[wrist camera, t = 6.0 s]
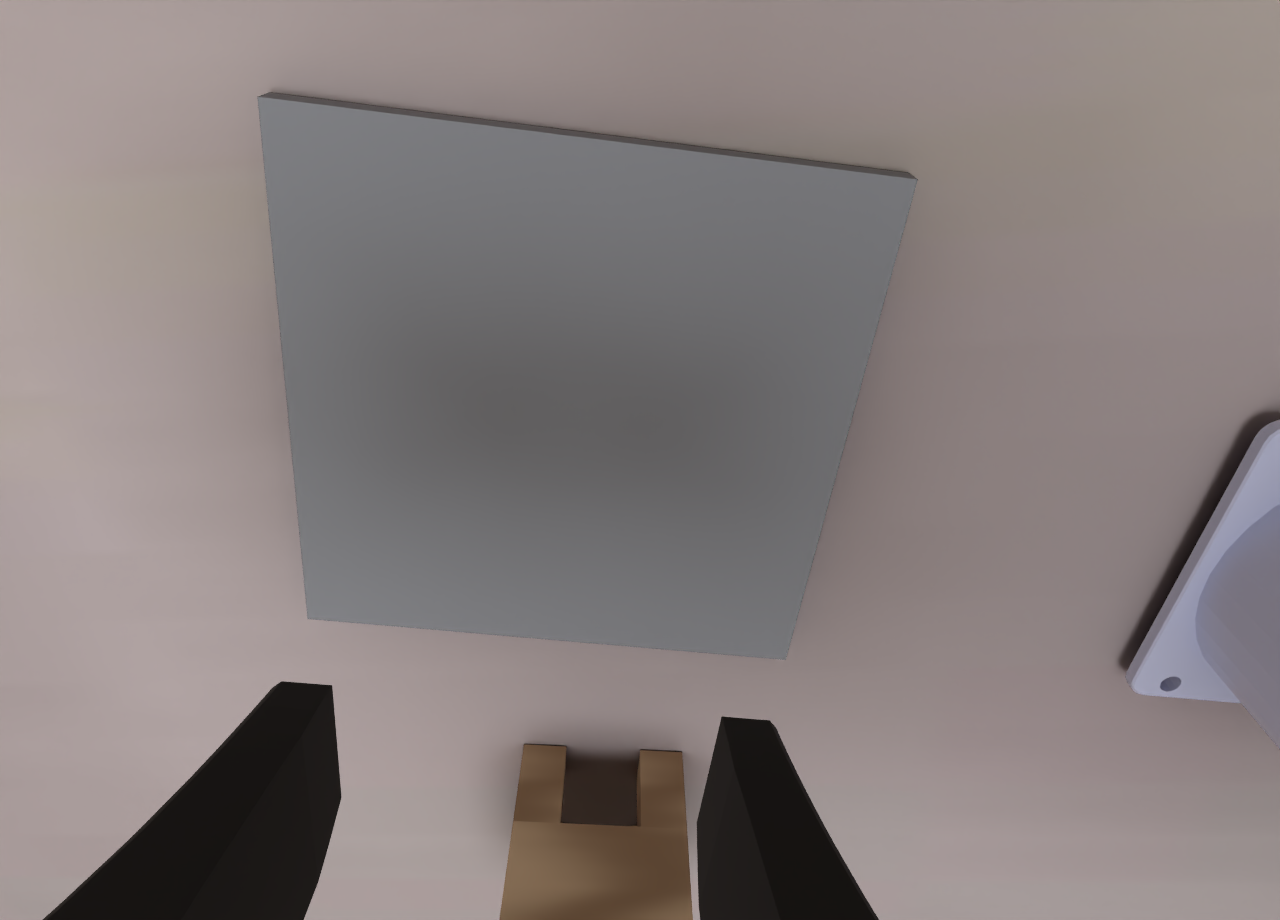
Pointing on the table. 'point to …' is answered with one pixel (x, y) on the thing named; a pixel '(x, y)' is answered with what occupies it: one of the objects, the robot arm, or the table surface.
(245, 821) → the robot arm
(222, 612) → the table surface
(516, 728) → the table surface
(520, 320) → the slate mat
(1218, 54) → the table surface
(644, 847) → the notched wooden block
